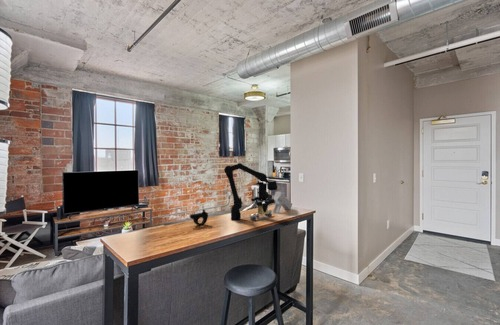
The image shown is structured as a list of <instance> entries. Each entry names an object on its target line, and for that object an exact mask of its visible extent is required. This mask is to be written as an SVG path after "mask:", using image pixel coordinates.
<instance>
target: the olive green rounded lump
mask: <svg viewBox="0 0 500 325" xmlns="http://www.w3.org/2000/svg"><path fill="white" fill-rule="evenodd" d="M268 211H269V206H268V207H267V210H266V212H264V208H263V204H262V205H259V206H257V213H259V215H261V216H262V215H265V214H267V213H268Z"/></svg>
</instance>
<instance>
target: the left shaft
mask: <svg viewBox="0 0 500 325" xmlns="http://www.w3.org/2000/svg"><path fill="white" fill-rule="evenodd" d="M256 218H260V214H259V213H258V212H255V213H252V214H250V215H249V219H250V221H252V222H256V221H257V219H256Z"/></svg>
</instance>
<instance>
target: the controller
mask: <svg viewBox="0 0 500 325" xmlns="http://www.w3.org/2000/svg"><path fill="white" fill-rule="evenodd" d="M208 214H209V212H206V209H202V210H201V212H198V213H192V214H190V215H189V218H190V219H192V220H193V223H194V224H195V225H196V226H203V225H205V224H206V223H207V221H208V218H209V215H208ZM201 218H202V221H201V222H199V219H201Z"/></svg>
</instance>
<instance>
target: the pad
mask: <svg viewBox="0 0 500 325" xmlns="http://www.w3.org/2000/svg"><path fill="white" fill-rule="evenodd" d="M268 219H270V217H268V216H265V215H264V216H259V218H257V217H256V220H259V221H265V220H268Z"/></svg>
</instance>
